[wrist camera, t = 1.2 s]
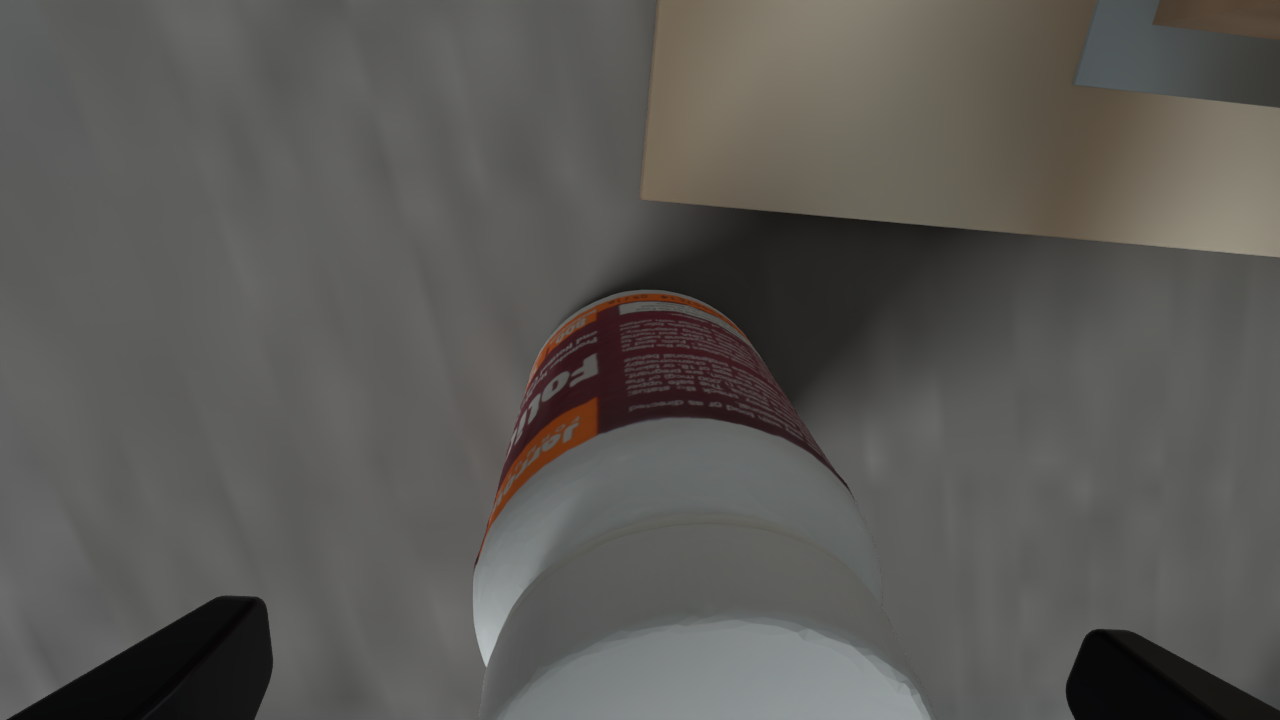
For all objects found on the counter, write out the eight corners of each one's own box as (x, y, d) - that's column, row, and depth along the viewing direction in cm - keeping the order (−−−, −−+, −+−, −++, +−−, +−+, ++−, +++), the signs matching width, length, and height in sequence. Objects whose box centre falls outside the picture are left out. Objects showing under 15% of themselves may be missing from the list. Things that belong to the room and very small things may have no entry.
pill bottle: (552, 259, 12) (462, 516, 4) (794, 316, 13) (1101, 627, 5) (505, 481, 14) (379, 969, 6) (724, 521, 14) (876, 1009, 6)
